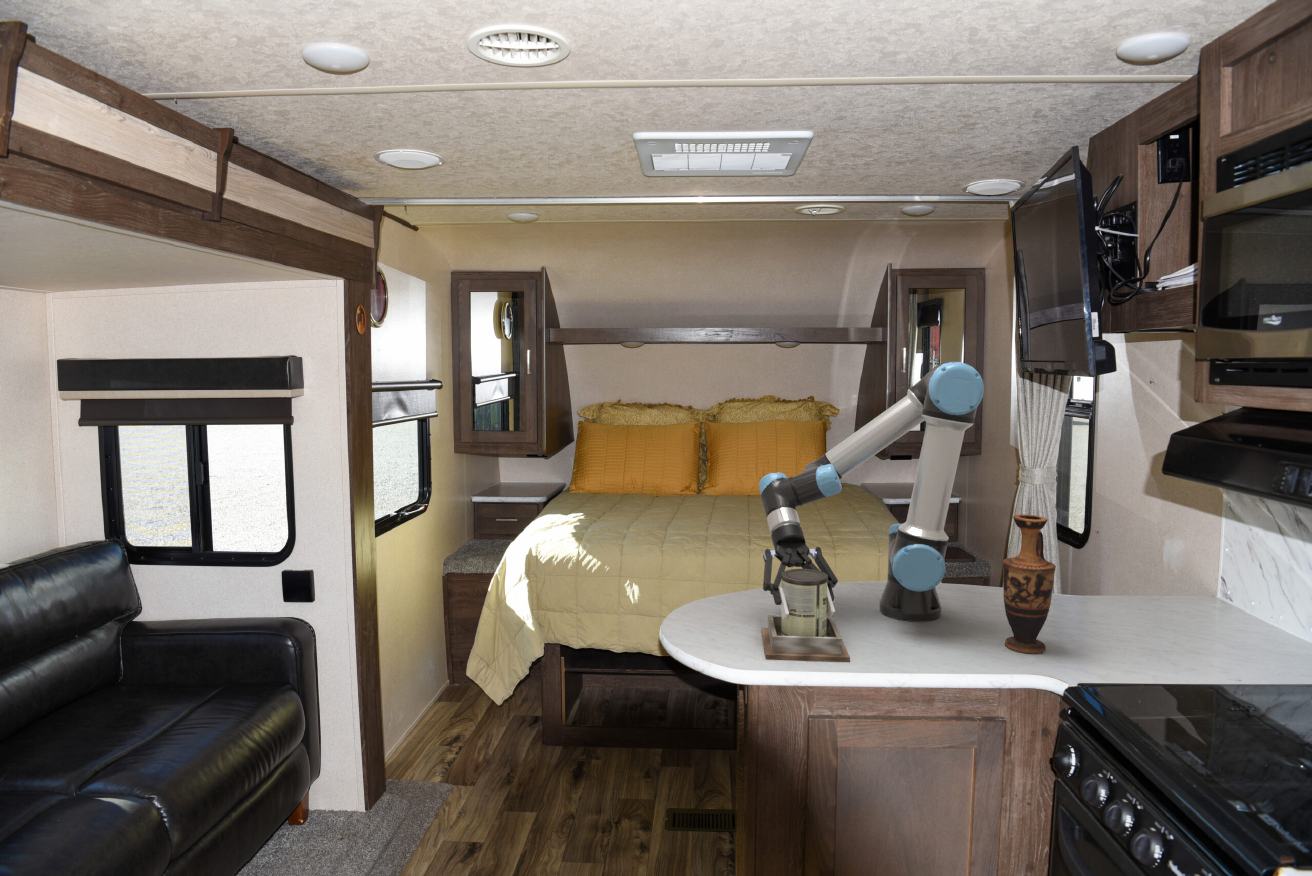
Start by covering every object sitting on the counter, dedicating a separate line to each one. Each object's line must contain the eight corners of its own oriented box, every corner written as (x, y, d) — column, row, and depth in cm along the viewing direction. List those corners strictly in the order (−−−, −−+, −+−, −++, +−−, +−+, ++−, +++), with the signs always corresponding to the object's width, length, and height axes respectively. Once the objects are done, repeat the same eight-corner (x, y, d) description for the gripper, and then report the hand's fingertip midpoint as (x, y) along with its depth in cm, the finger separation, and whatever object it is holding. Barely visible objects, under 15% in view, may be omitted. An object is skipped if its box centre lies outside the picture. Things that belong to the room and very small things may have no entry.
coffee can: (779, 626, 189) (780, 567, 188) (824, 628, 188) (825, 569, 187) (781, 642, 179) (782, 579, 178) (829, 644, 178) (830, 581, 177)
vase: (1032, 659, 176) (1039, 524, 173) (988, 645, 185) (994, 515, 182) (1061, 650, 182) (1068, 518, 179) (1017, 636, 191) (1023, 510, 188)
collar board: (837, 633, 192) (838, 615, 192) (849, 661, 174) (850, 641, 174) (761, 631, 194) (761, 613, 193) (765, 659, 176) (766, 639, 175)
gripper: (826, 537, 199) (851, 620, 185) (737, 541, 195) (756, 626, 181) (835, 520, 193) (862, 604, 180) (744, 524, 189) (764, 610, 175)
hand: (809, 615), depth 180 cm, fingers closed on coffee can, 10 cm apart
